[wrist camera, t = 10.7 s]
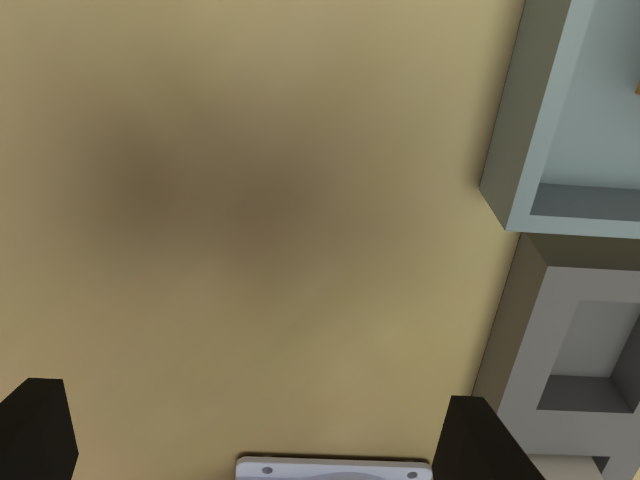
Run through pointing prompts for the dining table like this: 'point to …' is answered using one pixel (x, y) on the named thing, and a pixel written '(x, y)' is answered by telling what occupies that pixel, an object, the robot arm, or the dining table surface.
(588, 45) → the parts tray
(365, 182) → the dining table surface
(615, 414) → the block
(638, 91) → the orange rectangular block
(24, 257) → the dining table surface
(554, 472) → the fuse
